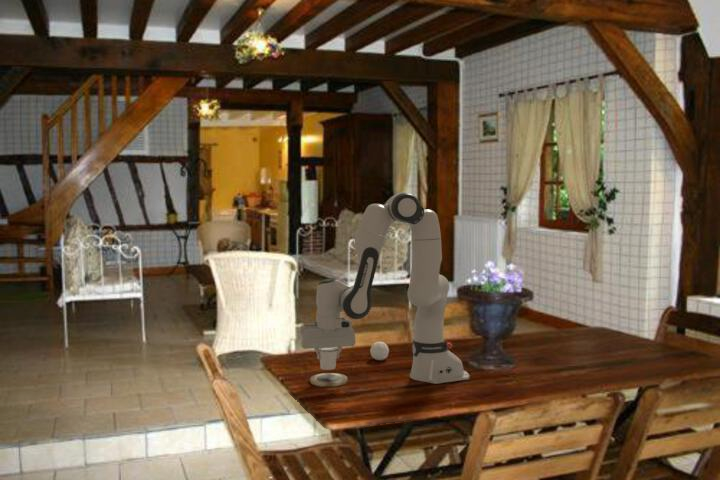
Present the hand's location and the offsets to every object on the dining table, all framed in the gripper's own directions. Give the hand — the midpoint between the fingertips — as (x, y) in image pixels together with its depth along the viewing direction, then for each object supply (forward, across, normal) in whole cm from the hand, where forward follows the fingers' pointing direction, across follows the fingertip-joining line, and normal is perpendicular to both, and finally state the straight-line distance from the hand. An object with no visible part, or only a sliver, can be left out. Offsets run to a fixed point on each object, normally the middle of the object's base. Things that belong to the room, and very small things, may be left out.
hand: (328, 358), depth 267 cm
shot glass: (+4, 0, 0) cm, 4 cm away
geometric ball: (+9, +26, +26) cm, 38 cm away
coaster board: (+9, 0, 0) cm, 9 cm away
